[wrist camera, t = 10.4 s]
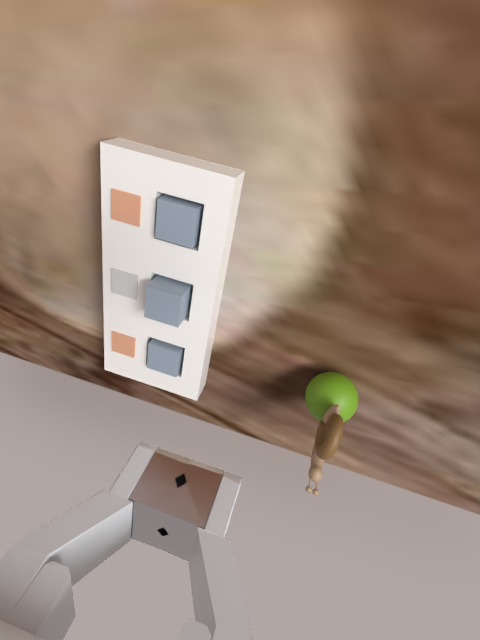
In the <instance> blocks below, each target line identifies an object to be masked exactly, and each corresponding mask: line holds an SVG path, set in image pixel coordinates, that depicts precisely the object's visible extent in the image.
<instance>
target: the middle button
mask: <svg viewBox="0 0 480 640" xmlns="http://www.w3.org/2000/svg"><path fill="white" fill-rule="evenodd" d="M192 290H193V285H192V284H188V283H185V282H182V281H178V280H175V279H172V278H168V277H165V276H162V275H159V274H158V275H157V276H156V277H155V278H154V279H153V280H152V281H151V282H150V283H148V284H147V285H146V293H145V312H144V317H146V318H149V319H152V320H155V321H158V322H162V323H165V324H168V325H171V326H174V327H177V328H178V327H179V325H180V324H181V323H182V321H183V320H184V319H185V317H186V316H187V315H188V313H189V312H190V305H191V298H192Z"/></svg>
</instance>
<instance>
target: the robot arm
mask: <svg viewBox="0 0 480 640" xmlns="http://www.w3.org/2000/svg"><path fill="white" fill-rule="evenodd" d="M241 481H242V478H241V477H238V476H235V475H232V474H229V473H227V472H225V473H224V471H223V470H220V469H217V468H214V467H211V466H208V465H205V464H203V463H200V462H197V461H194V460H190V459H188V458H185V457H182V456H180V455H177V454H174V453H172V452H169V451H166V450H164V449H161V448H159V447H157V446H154V445H151V444H148V443H146V442H143V441H142V442H141V443H140V444H139V445H138V446H137V447H136V449H135V450H134V452H133V453H132V455H131V457H130V458H129V460H128V461H127V463H126V465H125V466H124V468H123V469H122V471H121V473H120V474H119V476H118V478H117V479H116V481H115V483H114V484H113V486H112V487H111V489H110V490H109V492H108V491H105V490H103V491H101V492H99V493H98V494H96V495H94V496H92V497H91V498H89V499H87V500H85V501H84V502H82V503H80V504H78V505H77V506H75V507H73V508H71V509H70V510H68V511H66V512H64V513H63V514H61V515H59V516H57V517H56V518H54V519H52V520H50V521H49V522H47V523H45V524H43V525H42V526H40V527H38V528H37V529H35V530H33V531H31V532H30V533H28V534H26V535H25V536H23V537H21V538H19V539H17V540H16V541H14V542H13V543H12V544H11V546H10V547H9V548H8V550H7V551H6V552H5V553H4V555H3V556H2V557H1V559H0V640H63V639H64V637H65V635H66V633H67V631H68V629H69V627H70V625H71V624H72V622H73V620H74V617H75V609H74V602H73V593H72V586H73V585H74V584H75V583H77V582H78V581H79V580H80V579H82V578H83V577H84V576H85V575H87V574H88V573H89V572H91V571H92V570H93V569H94V568H96V567H97V566H98V565H99V564H101V563H102V562H103V561H104V560H106V559H107V558H108V557H110V556H111V555H112V554H114V553H115V552H116V551H117V550H119V549H120V548H121V547H122V546H123V545H125V544H126V543H128V542H129V541H130V539H131V538H133V539H135V540H138V541H140V542H143V543H146V544H149V545H151V546H154V547H156V548H159V549H162V550H164V551H166V552H168V553H171V554H173V555H175V556H178V557H180V558H182V559H185V560H187V561H189V569H190V579H191V587H192V596H193V604H194V613H195V621H194V620H191V619H189V620H187V621H185V622H184V623H183V624H182V627H181V630H180V632H179V635H178V638H177V640H253V636H252V632H251V628H250V624H249V620H248V615H247V611H246V606H245V602H244V598H243V594H242V589H241V585H240V581H239V577H238V573H237V569H236V564H235V560H234V556H233V551H232V547H231V543H230V539H228V538H225V534H226V531H227V528H228V524H229V521H230V518H231V514H232V511H233V508H234V505H235V501H236V498H237V495H238V491H239V488H240V485H241Z"/></svg>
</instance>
